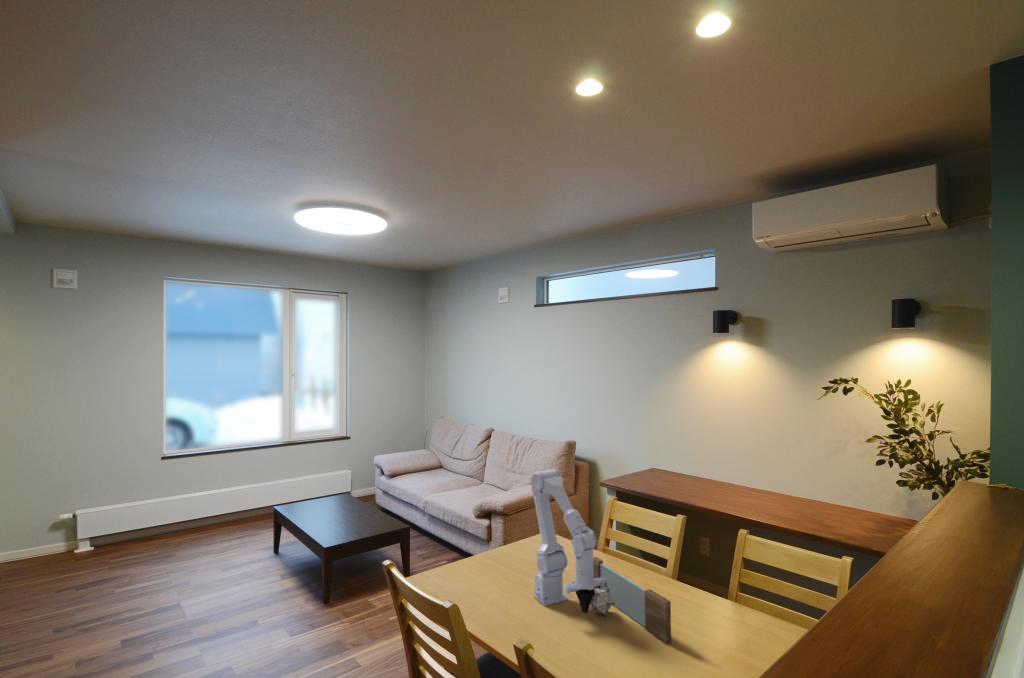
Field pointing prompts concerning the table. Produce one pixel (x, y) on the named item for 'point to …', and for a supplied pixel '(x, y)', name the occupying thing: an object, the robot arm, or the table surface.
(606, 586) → the door
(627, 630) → the table surface
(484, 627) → the table surface
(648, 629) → the wall frame
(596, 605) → the game die
